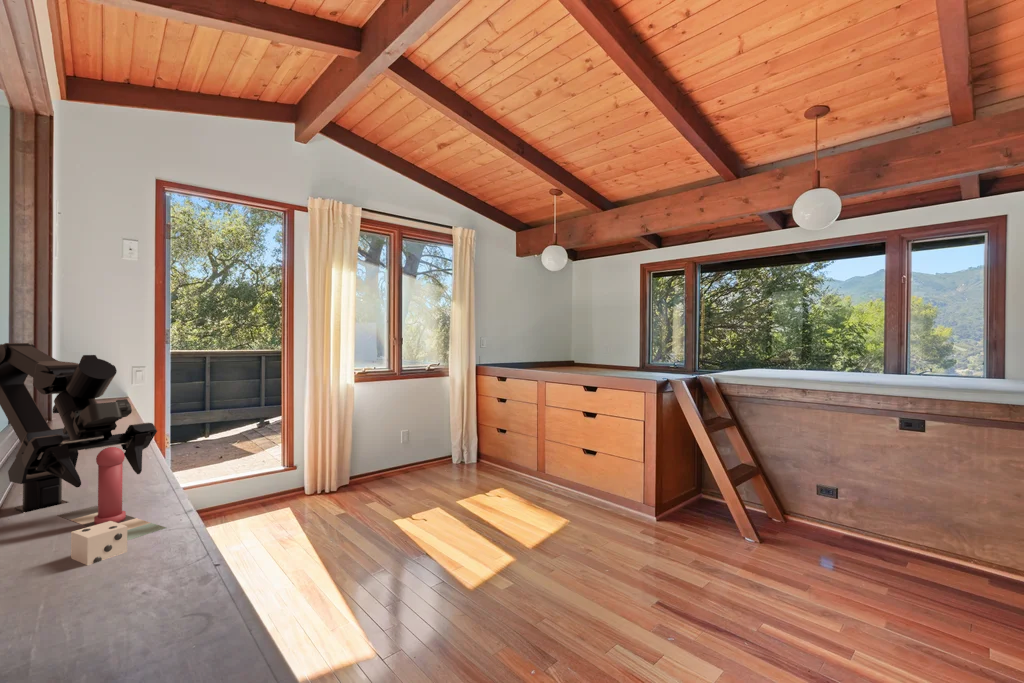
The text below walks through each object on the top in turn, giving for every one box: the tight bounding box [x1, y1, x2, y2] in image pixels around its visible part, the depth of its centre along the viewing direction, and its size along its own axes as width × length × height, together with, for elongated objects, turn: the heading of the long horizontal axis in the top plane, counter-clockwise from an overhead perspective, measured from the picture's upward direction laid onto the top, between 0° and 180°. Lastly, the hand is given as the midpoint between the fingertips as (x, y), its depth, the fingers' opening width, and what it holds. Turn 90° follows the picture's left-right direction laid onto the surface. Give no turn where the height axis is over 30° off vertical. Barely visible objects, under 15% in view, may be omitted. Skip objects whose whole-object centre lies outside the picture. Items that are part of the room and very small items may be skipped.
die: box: [70, 521, 128, 566], centre depth 73 cm, size 5×5×5 cm
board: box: [56, 505, 167, 541], centre depth 87 cm, size 25×7×1 cm, turn 64°
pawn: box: [94, 446, 127, 525], centre depth 87 cm, size 4×4×14 cm
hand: (110, 479), depth 87 cm, fingers open, 9 cm apart
